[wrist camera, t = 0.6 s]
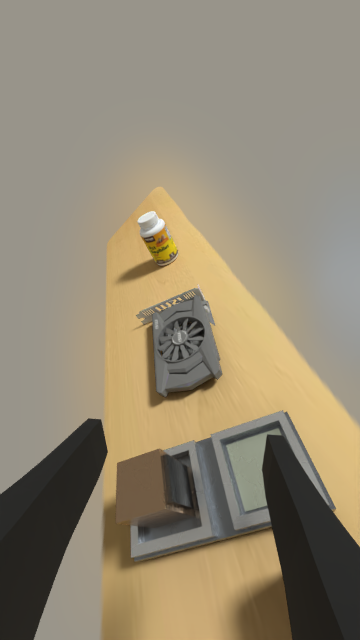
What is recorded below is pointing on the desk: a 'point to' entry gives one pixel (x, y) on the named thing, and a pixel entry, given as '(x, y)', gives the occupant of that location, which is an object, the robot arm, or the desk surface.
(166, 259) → the supplement bottle
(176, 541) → the grey block holder
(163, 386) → the graphics card
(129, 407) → the desk surface
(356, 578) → the robot arm
